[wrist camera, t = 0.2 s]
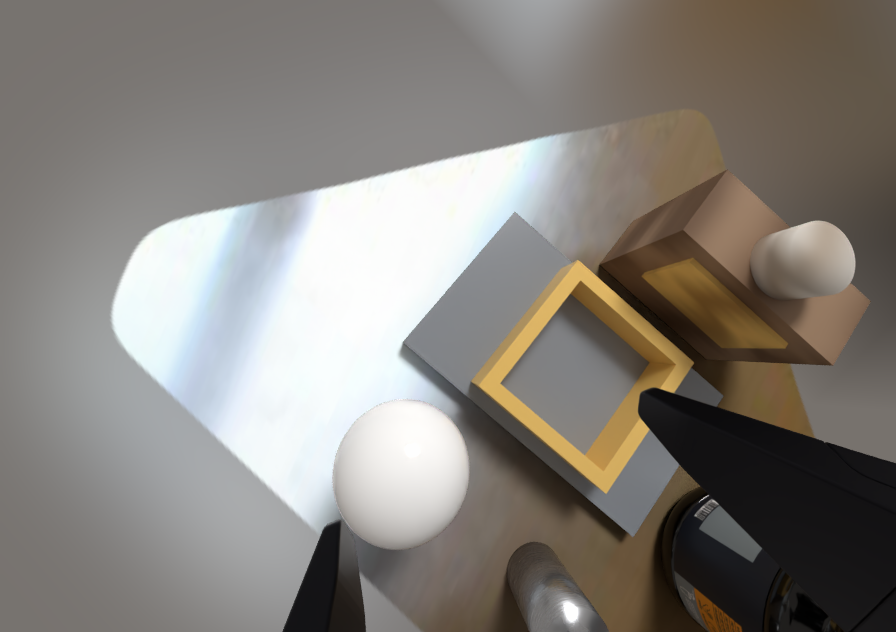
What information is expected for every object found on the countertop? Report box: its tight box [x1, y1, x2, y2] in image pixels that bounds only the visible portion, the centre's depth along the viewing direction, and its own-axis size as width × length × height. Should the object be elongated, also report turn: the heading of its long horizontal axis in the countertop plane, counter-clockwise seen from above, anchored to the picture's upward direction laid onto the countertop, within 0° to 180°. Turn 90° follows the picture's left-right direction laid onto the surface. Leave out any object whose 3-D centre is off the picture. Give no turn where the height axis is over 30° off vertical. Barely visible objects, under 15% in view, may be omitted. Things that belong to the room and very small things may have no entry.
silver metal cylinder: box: [507, 542, 609, 632], centre depth 20 cm, size 4×4×6 cm
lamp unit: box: [600, 170, 871, 366], centre depth 22 cm, size 12×5×10 cm, turn 50°
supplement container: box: [661, 486, 844, 632], centre depth 19 cm, size 10×10×12 cm
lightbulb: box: [332, 399, 470, 550], centre depth 18 cm, size 6×6×11 cm
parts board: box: [403, 212, 723, 537], centre depth 23 cm, size 22×13×4 cm, turn 50°
